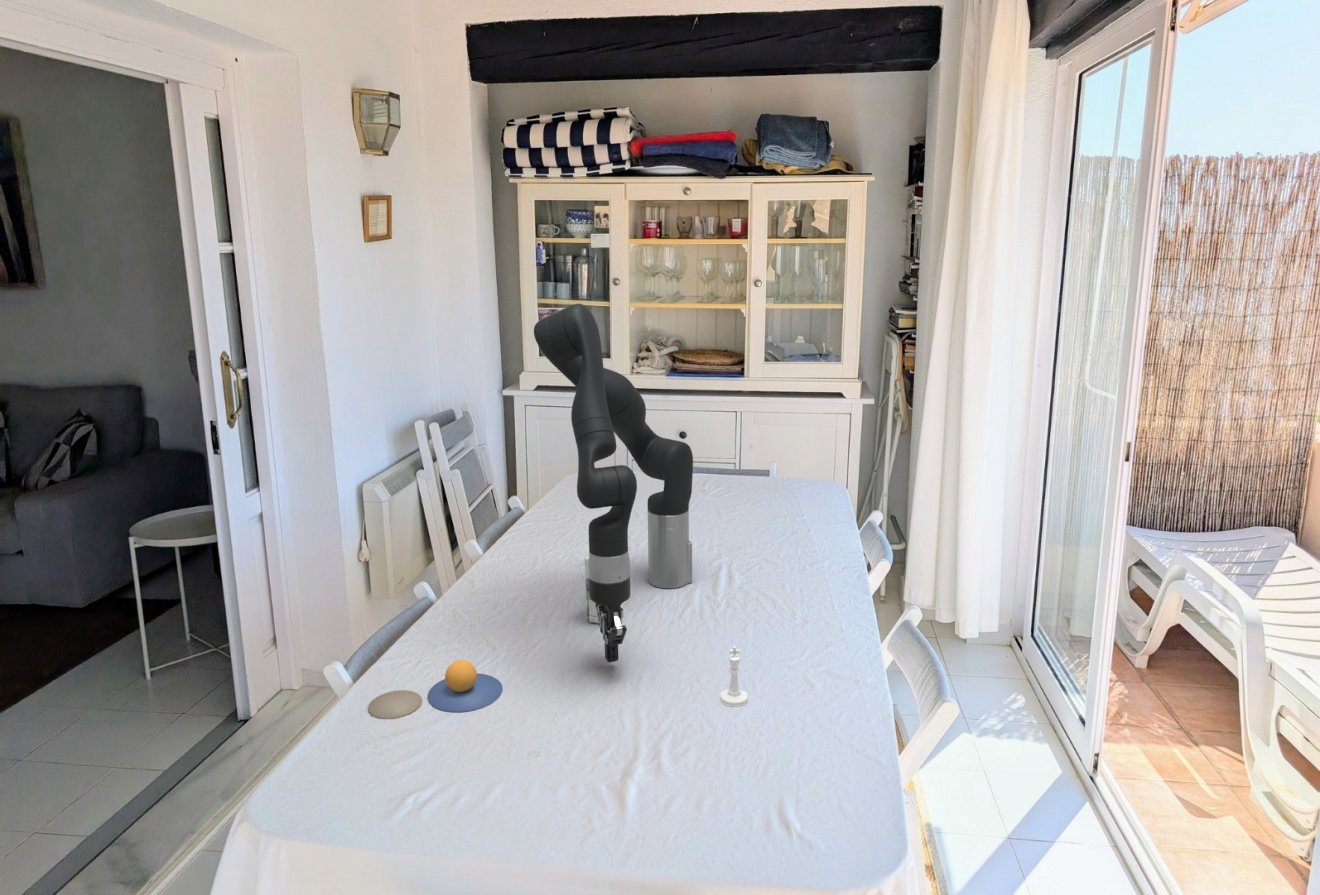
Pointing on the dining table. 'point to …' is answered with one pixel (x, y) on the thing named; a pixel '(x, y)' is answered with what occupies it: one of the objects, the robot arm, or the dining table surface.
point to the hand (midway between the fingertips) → (611, 659)
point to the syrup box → (591, 607)
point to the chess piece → (734, 684)
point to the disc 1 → (395, 704)
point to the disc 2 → (465, 695)
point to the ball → (460, 676)
